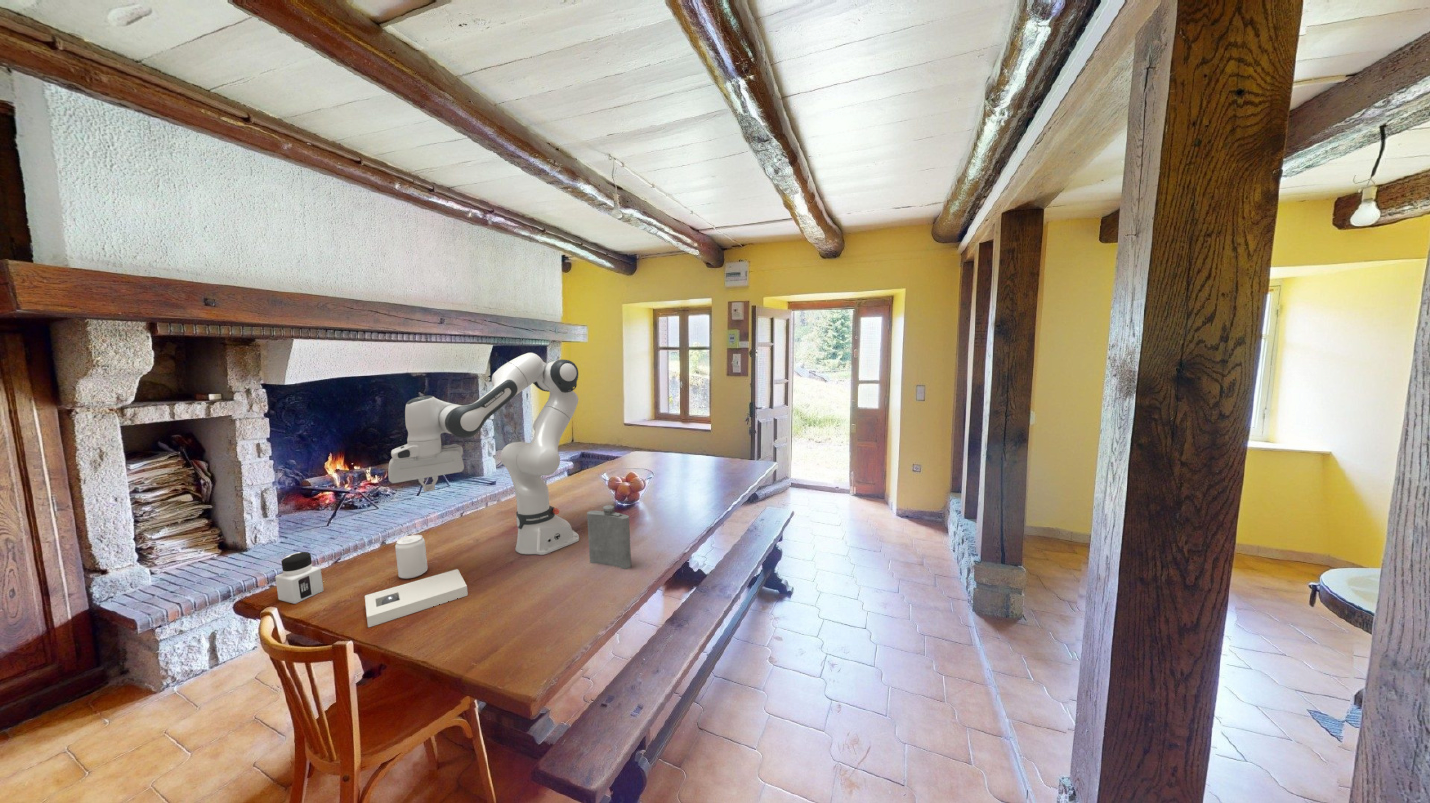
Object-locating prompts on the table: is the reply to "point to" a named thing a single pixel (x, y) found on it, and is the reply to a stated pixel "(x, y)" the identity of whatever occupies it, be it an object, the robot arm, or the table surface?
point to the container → (298, 578)
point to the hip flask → (609, 538)
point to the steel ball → (389, 599)
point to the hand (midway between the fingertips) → (429, 490)
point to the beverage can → (411, 556)
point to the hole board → (415, 597)
